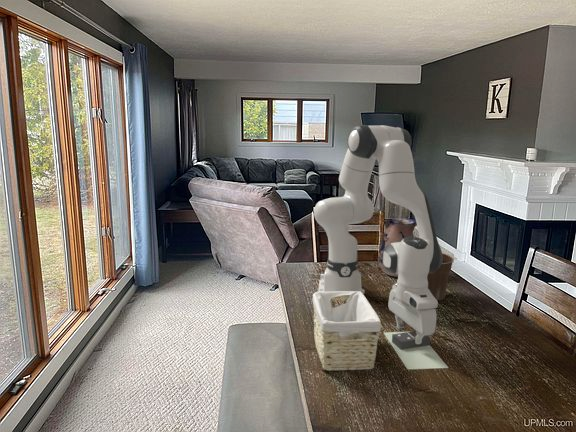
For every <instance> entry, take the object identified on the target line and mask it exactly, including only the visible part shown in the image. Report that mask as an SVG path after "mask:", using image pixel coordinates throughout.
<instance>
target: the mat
mask: <svg viewBox="0 0 576 432" xmlns="http://www.w3.org/2000/svg"><path fill="white" fill-rule="evenodd" d="M406 332H407V331H393V332H392V331H389V332H383V335H384V336H385V337H386V339H387V341H388V342H389V344H390V345H391V346H392V348H393V350H394V351H395V353H396V354H397V356H398V358H399V359H400V360H401V362H402V363H403V365H404V366H405V368H406V369H407V370H429V369H430V370H431V369H449V366H448V365H447V364H446V362H444V361H443V359H442V358H441V357H440V356H439V354H438V353H437V352H436V351H435V349H434V348H432V346H431V344H430V345H428V346H422V347H415V348H409V349H402V350H400V349H399V348H398V347H397V346H396V345H395V344H394V343H393V342H392V334H399V333H406Z"/></svg>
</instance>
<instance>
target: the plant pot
mask: <svg viewBox="0 0 576 432" xmlns="http://www.w3.org/2000/svg"><path fill="white" fill-rule="evenodd" d="M442 255H443V261H442V264H441V266H440V267H439V268H438V269H437V270H436V271H435V272H434V273H428V276H427V281H428V289H429V290H430V292H431V294H432V295H433V296H434V298H435V299H436V300H437V301H440V302H441V301H443V300H444V299H445V298H446V292H447V288H448V287H447V286H448V282H449V277H450V273H451V272H450V271H452V266H453V263H454V262H455V259H454V257H453V256H451V255H449V254H445V253H443V252H442Z"/></svg>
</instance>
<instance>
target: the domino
mask: <svg viewBox="0 0 576 432" xmlns="http://www.w3.org/2000/svg"><path fill="white" fill-rule="evenodd" d="M405 332H406V333H399V334H392V342H393V343H394V344H395V345H396V346H397V347H398V348H399V349H400V350H402V349H409V348H415V347H422V346H428V345H430V346H431V337H430V335H427V336H423V338H422V343H421V344H416V343H415V342H414V337H415V336H416V335H417V333H416V330H414V331H405Z"/></svg>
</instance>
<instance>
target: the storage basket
mask: <svg viewBox="0 0 576 432" xmlns="http://www.w3.org/2000/svg"><path fill="white" fill-rule="evenodd" d="M332 301H333V302H336V301H340V302H345V303H343V304H339V305H338V306H335V307H332V304H331V303H332ZM312 305H313V325H314V326H313V337H314V343H315V348H316V351H317V354H318V357H319V360H320V363H321V365H322V367H321V368H322V369H323V370H324V371H355V370H372V369H373V368H374V367H375V361H376V357H377V349H378V341H379V338H380V337H379V336H380V332H381V331H382V326H381V325H382V323H381V319H380V317H379V315H378V314H377V312H376V311H375V309H374V308H373V306H372V305H371V303H370V302H369V300H368V299H367V298H366V296H365V295H364V294H363V293H362V292H361V291H331V292H318V291H315V292H314V293H313V294H312Z"/></svg>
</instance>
